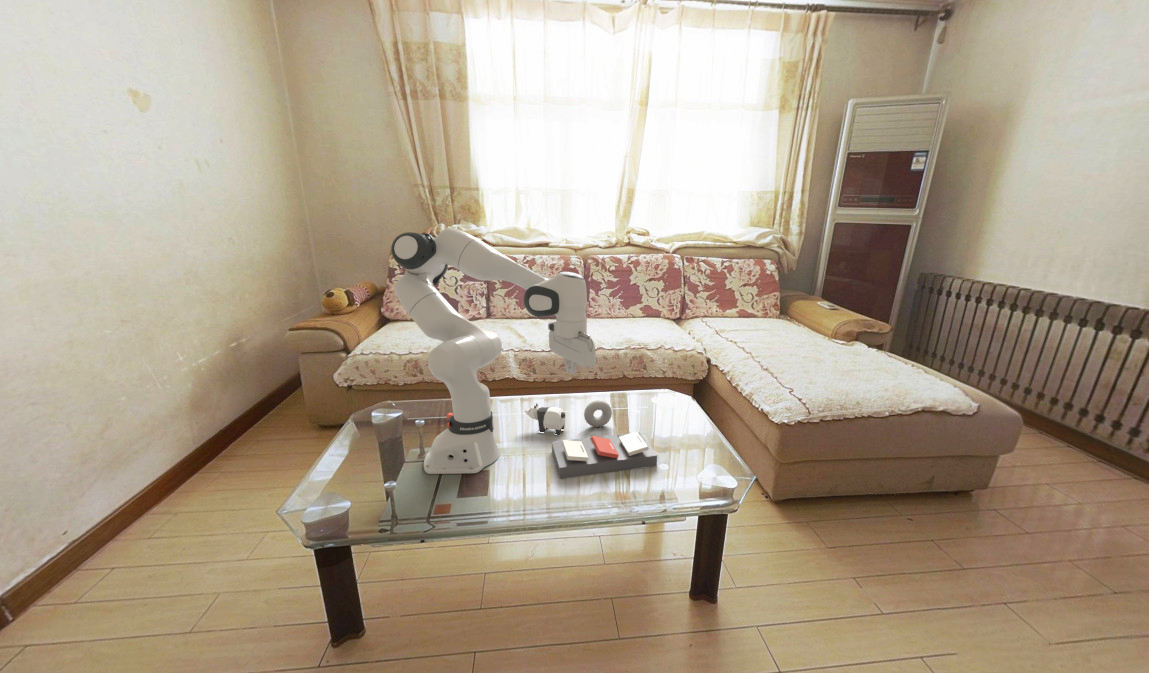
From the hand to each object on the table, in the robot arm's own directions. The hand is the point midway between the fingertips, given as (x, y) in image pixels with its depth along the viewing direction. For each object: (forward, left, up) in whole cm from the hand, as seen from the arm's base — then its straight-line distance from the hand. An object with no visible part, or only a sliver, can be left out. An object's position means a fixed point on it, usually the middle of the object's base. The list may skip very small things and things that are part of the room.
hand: (571, 373), depth 125 cm
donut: (+12, +15, -27) cm, 33 cm away
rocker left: (-1, -8, -21) cm, 23 cm away
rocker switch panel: (+8, -6, -26) cm, 28 cm away
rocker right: (+17, -8, -21) cm, 28 cm away
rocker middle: (+8, -8, -21) cm, 24 cm away
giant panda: (-6, +16, -27) cm, 32 cm away
